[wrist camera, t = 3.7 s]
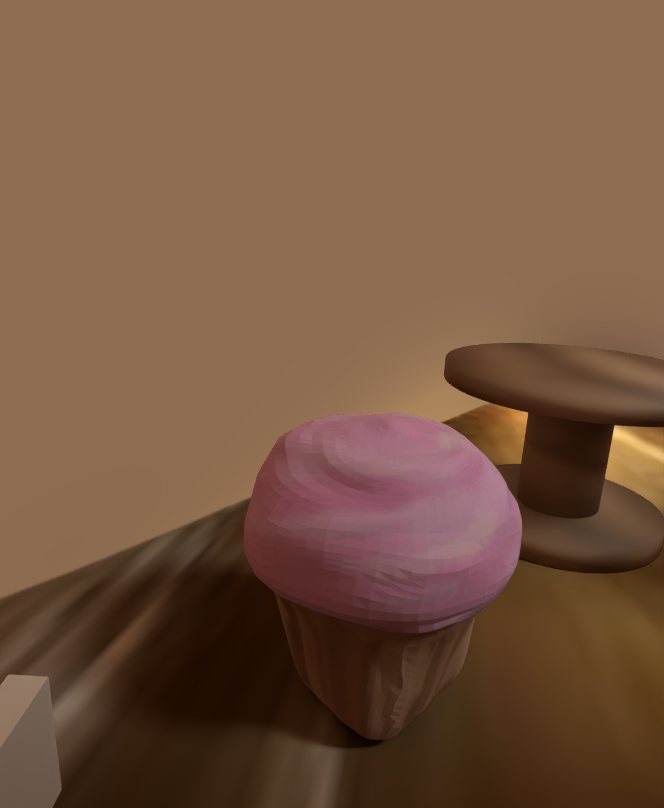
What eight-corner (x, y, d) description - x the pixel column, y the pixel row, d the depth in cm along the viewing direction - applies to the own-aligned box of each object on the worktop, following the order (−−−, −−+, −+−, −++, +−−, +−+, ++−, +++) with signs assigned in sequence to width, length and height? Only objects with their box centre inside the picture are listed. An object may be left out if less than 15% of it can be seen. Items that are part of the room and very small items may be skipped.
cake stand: (571, 464, 42) (591, 341, 40) (760, 567, 30) (807, 396, 27) (393, 482, 38) (403, 345, 35) (525, 612, 25) (555, 413, 23)
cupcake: (402, 860, 15) (435, 506, 12) (193, 689, 20) (184, 414, 18) (536, 675, 22) (578, 418, 19) (352, 582, 27) (364, 370, 24)
